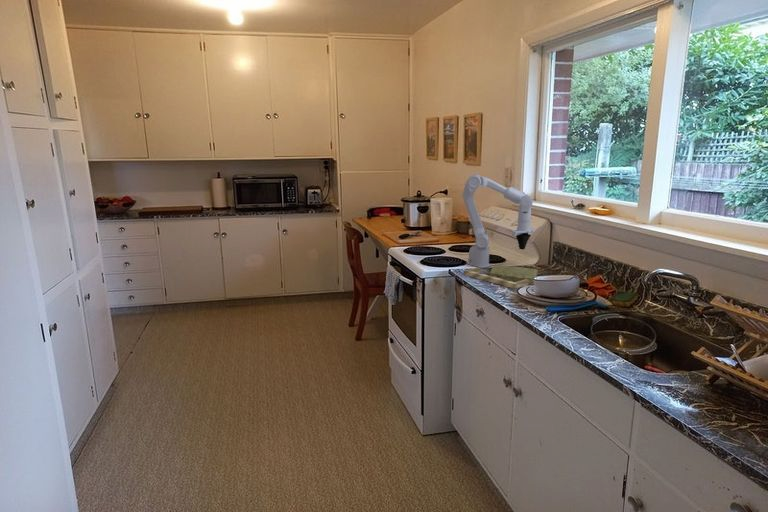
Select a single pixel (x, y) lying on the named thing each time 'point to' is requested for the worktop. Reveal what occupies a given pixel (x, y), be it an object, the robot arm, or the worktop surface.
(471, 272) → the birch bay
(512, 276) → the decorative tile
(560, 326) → the worktop surface
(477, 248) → the robot arm
